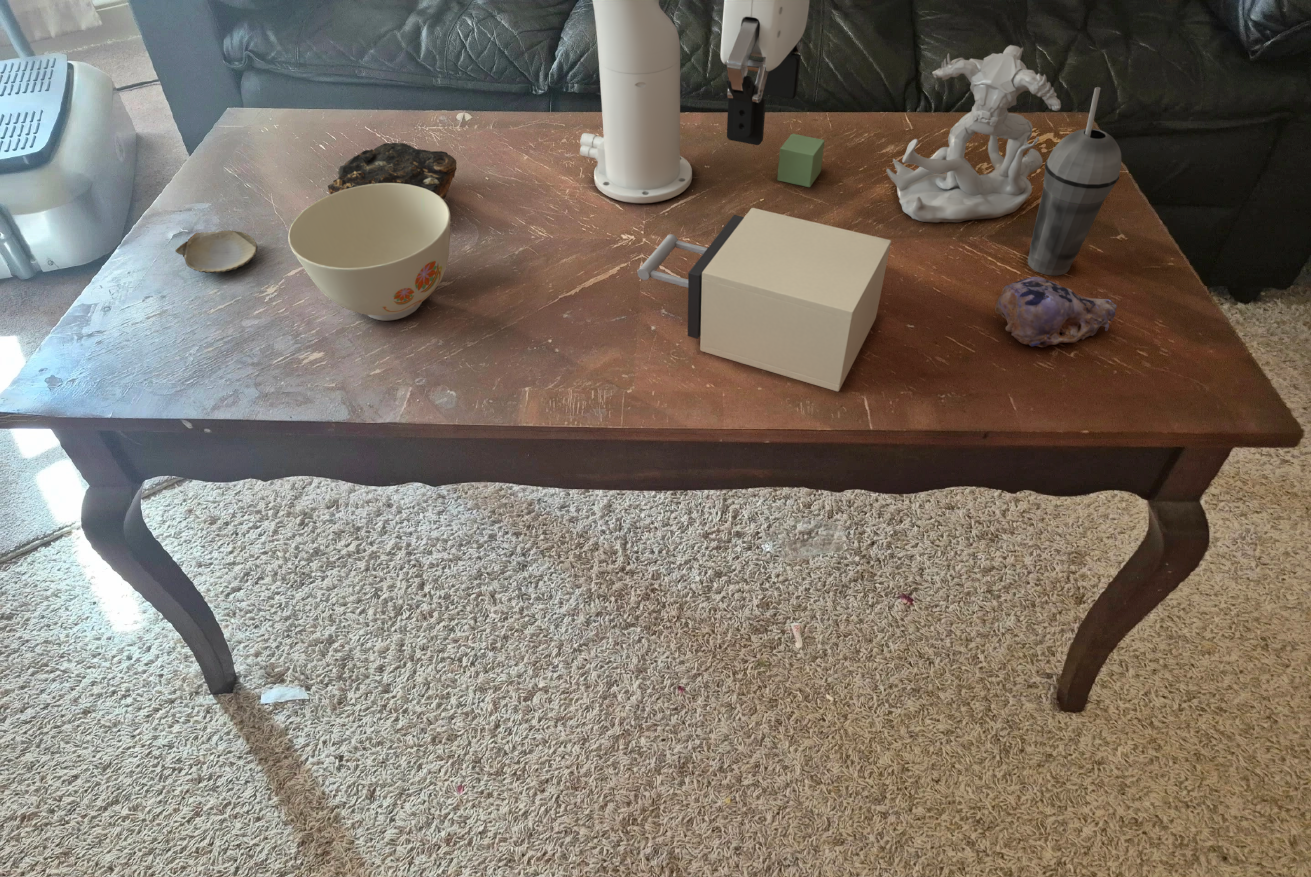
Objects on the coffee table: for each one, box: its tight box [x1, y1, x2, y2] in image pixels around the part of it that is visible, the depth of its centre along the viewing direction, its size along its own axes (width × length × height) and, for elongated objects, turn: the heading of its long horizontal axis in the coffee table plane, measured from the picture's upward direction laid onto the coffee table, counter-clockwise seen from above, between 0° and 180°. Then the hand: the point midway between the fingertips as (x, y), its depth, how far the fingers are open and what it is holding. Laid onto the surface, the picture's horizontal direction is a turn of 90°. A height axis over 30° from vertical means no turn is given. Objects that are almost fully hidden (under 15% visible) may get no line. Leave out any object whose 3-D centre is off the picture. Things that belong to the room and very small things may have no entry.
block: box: [776, 133, 826, 188], centre depth 112 cm, size 4×4×4 cm
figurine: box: [885, 44, 1062, 223], centre depth 102 cm, size 18×13×18 cm
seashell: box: [175, 230, 258, 274], centre depth 101 cm, size 8×3×8 cm
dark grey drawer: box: [636, 214, 745, 340], centre depth 89 cm, size 20×11×8 cm, turn 64°
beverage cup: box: [1027, 86, 1122, 276], centre depth 91 cm, size 7×7×20 cm
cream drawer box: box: [699, 207, 892, 393], centre depth 87 cm, size 15×13×10 cm
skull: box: [994, 276, 1118, 348], centre depth 88 cm, size 12×8×6 cm, turn 85°
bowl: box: [287, 183, 451, 322], centre depth 92 cm, size 16×16×10 cm
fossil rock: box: [327, 141, 457, 201], centre depth 108 cm, size 14×14×6 cm
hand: (762, 117), depth 80 cm, fingers open, 9 cm apart
